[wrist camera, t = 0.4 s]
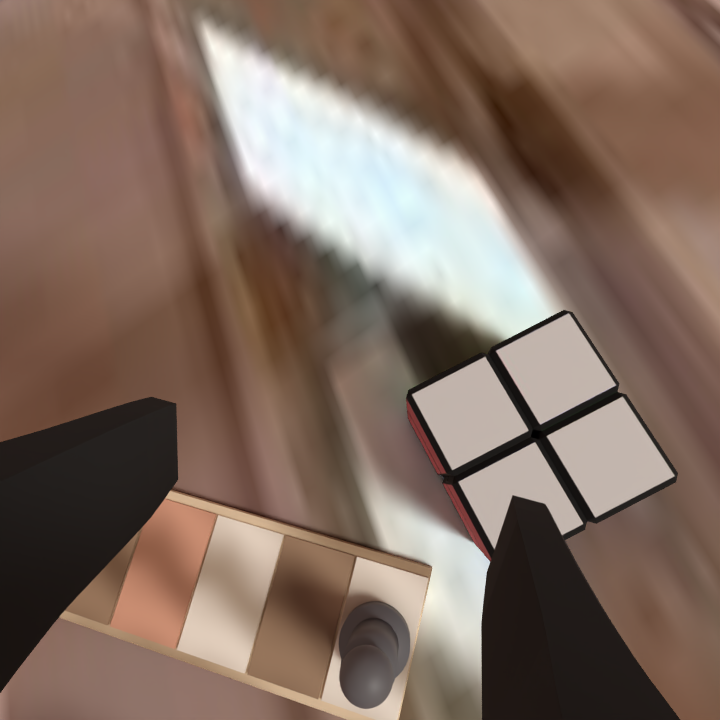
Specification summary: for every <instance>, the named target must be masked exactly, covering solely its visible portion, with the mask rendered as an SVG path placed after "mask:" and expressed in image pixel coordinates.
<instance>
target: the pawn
mask: <svg viewBox="0 0 720 720" xmlns="http://www.w3.org/2000/svg"><path fill="white" fill-rule="evenodd" d="M339 652H340V656H341V667H340V672H339V681H340V687H341V690H342V692H343V694H344V696H345V697H346V698H347V700H348V701H349V702H350V703H351V704H353V705H354V706H356V707H359V708H362V709H370V708H374V707H377V706H379V705H380V704H382V703H383V702H384V701H385V700H386V698H387V697H388V695H389V694H390V692H391V689H392V686H393V683H394V680H395V678H396V677H397V676H398V675H399V674H400V673H401V672H402V671H403V669H404V668H405V666H406V664H407V662H408V658H409V654H410V632H409V628H408V625H407V623H406V621H405V619H404V617H403V616H402V615H401V614H400V612H399V611H398V610H397V609H395V608H394V607H393V606H391V605H389V604H387V603H384V602H380V601H370V602H365V603H363V604H361V605H359V606H357V607H356V608H354V609H353V610H352V611H351V612H350V614H349V615H348V616H347V618H346V620H345V622H344V624H343V626H342V628H341V631H340V635H339Z"/></svg>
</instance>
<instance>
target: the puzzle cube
mask: <svg viewBox="0 0 720 720" xmlns="http://www.w3.org/2000/svg"><path fill="white" fill-rule="evenodd" d="M618 387H619V382H618V381H617V379H616V378H615V376H614V375H613V373H612V372H611V370H610V369H609V367H608V366H607V364H606V363H605V361H604V360H603V358H602V356H601V355H600V353H599V352H598V350H597V349H596V347H595V346H594V344H593V343H592V341H591V340H590V338H589V337H588V335H587V334H586V332H585V331H584V329H583V328H582V326H581V325H580V323H579V322H578V320H577V318H576V317H575V315H574V314H573V312H570V311H566V310H563V311H561V312H559V313H557V314H555V315H553V316H551V317H549V318H547V319H545V320H544V321H542V322H540V323H538V324H536V325H534V326H532V327H530V328H528V329H526V330H524V331H522V332H520V333H518V334H516V335H514V336H512V337H511V338H509V339H507V340H505V341H503V342H501V343H499V344H497V345H495V346H493V347H492V348H491V349H490V351H489V353H488V354H484V353H480V354H478V355H476V356H474V357H472V358H470V359H468V360H466V361H464V362H462V363H460V364H458V365H456V366H454V367H452V368H451V369H449V370H447V371H445V372H443V373H441V374H439V375H437V376H435V377H433V378H431V379H429V380H427V381H425V382H423V383H421V384H419V385H418V386H416V387H414V388H412V389H410V390H409V391H408V394H407V397H406V402H407V413H408V419H409V421H410V423H411V425H412V427H413V429H414V430H415V432H416V434H417V436H418V438H419V440H420V442H421V444H422V445H423V447H424V449H425V451H426V453H427V455H428V457H429V459H430V461H431V462H432V464H433V466H434V468H435V470H436V472H437V474H438V475H441V476H444V480H443V485H444V487H445V489H446V491H447V493H448V494H449V496H450V498H451V500H452V502H453V504H454V506H455V508H456V510H457V511H458V513H459V515H460V517H461V519H462V521H463V523H464V525H465V527H466V528H467V530H468V532H469V534H470V536H471V538H472V540H473V542H474V543H475V545H476V546H477V547H478V548H479V549H480V550H481V551H482V552H483V553H484V555H485V556H486V557H487V558H488V560H489V561H490V562H491V559H492V556H493V553H494V550H495V547H496V544H497V541H498V538H499V534H500V531H501V528H502V525H503V522H504V519H505V516H506V513H507V510H508V507H509V504H510V501H511V498H512V495H514V496H518V497H522V498H525V499H529V500H533V501H537V502H540V503H544V504H546V506H547V507H548V509H549V511H550V513H551V515H552V517H553V519H554V520H555V522H556V524H557V526H558V528H559V530H560V532H561V534H562V536H563V538H564V540H566V539H568V538H570V537H572V536H574V535H575V534H577V533H579V532H581V531H583V530H585V527H586V523H587V521H588V522H592V523H596V524H597V523H598V522H600V521H602V520H604V519H606V518H608V517H610V516H612V515H614V514H616V513H618V512H620V511H621V510H623V509H625V508H627V507H629V506H631V505H633V504H635V503H637V502H639V501H641V500H643V499H645V498H646V497H648V496H650V495H652V494H654V493H656V492H658V491H660V490H662V489H664V488H666V487H668V486H669V485H671V484H673V483H675V482H676V480H677V475H678V473H677V471H676V470H675V468H674V467H673V465H672V463H671V462H670V460H669V459H668V457H667V456H666V454H665V453H664V451H663V450H662V448H661V447H660V445H659V444H658V442H657V441H656V439H655V438H654V436H653V435H652V433H651V432H650V430H649V428H648V427H647V425H646V424H645V422H644V421H643V419H642V418H641V416H640V415H639V413H638V412H637V410H636V409H635V407H634V406H633V404H632V403H631V401H630V400H629V398H628V397H627V395H626V394H622V393H619V392H617V391H618Z"/></svg>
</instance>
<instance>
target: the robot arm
mask: <svg viewBox="0 0 720 720" xmlns="http://www.w3.org/2000/svg"><path fill="white" fill-rule="evenodd" d="M177 480H178V457H177V416H176V403H172V402H168V401H165V400H161V399H157V398H154V397H149V398H145V399H141V400H137V401H133V402H130V403H126V404H123V405H120V406H116V407H113V408H110V409H107V410H104V411H101V412H98V413H95V414H91V415H88V416H85V417H82V418H79V419H76V420H73V421H70V422H67V423H63V424H60V425H57V426H54V427H51V428H48V429H45V430H41V431H38V432H34V433H31V434H27V435H24V436H20V437H17V438H14V439H10V440H7V441H3V442H0V693H1V691H2V690H3V689H4V687H5V686H6V684H7V683H8V682H9V680H10V679H11V678H12V676H13V675H14V674H15V672H16V671H17V670H18V668H19V667H20V666H21V664H22V663H23V662H24V661H25V659H26V658H27V657H28V656H29V654H30V653H31V652H32V650H33V649H34V648H35V647H36V645H37V644H38V643H39V641H40V640H41V639H42V638H43V636H44V635H45V634H46V632H47V631H48V630H49V629H50V627H51V626H52V625H53V624H54V622H55V621H56V620H57V619H58V618H59V617H60V615H61V614H62V613H63V612H64V611H65V610H66V609H67V607H68V606H69V605H70V604H71V603H72V602H73V601H74V600H75V599H76V597H77V596H78V595H79V594H80V593H81V592H82V591H83V590H84V589H85V588H86V587H87V586H88V585H89V584H90V583H91V582H92V580H93V579H94V578H95V577H96V576H97V575H98V574H99V573H100V572H101V571H102V570H103V569H104V568H105V567H106V566H107V565H108V563H109V562H110V561H111V560H112V559H113V558H114V557H115V556H116V555H117V554H118V553H119V552H120V551H121V550H122V549H123V548H124V546H125V545H126V544H127V543H128V542H129V541H130V540H131V539H132V538H133V537H134V536H135V535H136V533H137V532H138V531H139V530H140V529H141V528H142V527H143V526H144V525H145V524H146V523H147V521H148V520H149V519H150V518H151V517H152V515H153V514H154V513H155V511H156V510H157V509H158V507H159V506H160V505H161V503H162V502H163V501H164V499H165V498H166V496H167V495H168V493H169V492H170V490H171V489H172V488H173V486H174V485H175V483H176V482H177ZM482 720H680V719H679V717H678V716H677V715H676V713H675V712H674V711H673V709H672V708H671V707H670V705H669V704H668V703H667V701H666V700H665V699H664V697H663V696H662V695H661V693H660V692H659V691H658V689H657V688H656V687H655V686H654V684H653V683H652V682H651V680H650V679H649V677H648V676H647V675H646V673H645V672H644V670H643V669H642V668H641V666H640V665H639V663H638V662H637V660H636V659H635V657H634V656H633V655H632V653H631V651H630V650H629V648H628V647H627V645H626V644H625V642H624V641H623V639H622V638H621V636H620V635H619V633H618V632H617V630H616V628H615V627H614V625H613V624H612V622H611V620H610V619H609V617H608V616H607V614H606V612H605V611H604V609H603V608H602V606H601V604H600V602H599V601H598V599H597V597H596V596H595V594H594V592H593V590H592V589H591V587H590V585H589V584H588V582H587V580H586V579H585V577H584V575H583V573H582V571H581V570H580V568H579V566H578V564H577V562H576V561H575V559H574V557H573V555H572V553H571V551H570V549H569V548H568V546H567V544H566V542H565V540H564V538H563V536H562V534H561V532H560V530H559V528H558V526H557V524H556V522H555V520H554V519H553V517H552V515H551V513H550V511H549V509H548V507H547V506H546V504H544V503H540V502H537V501H533V500H529V499H525V498H522V497H518V496H514V495H512V498H511V501H510V504H509V507H508V510H507V513H506V516H505V519H504V522H503V525H502V528H501V531H500V534H499V538H498V541H497V544H496V547H495V550H494V553H493V556H492V559H491V562H490V565H489V568H488V571H487V576H486V585H485V594H484V604H483V614H482Z"/></svg>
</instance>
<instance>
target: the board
mask: <svg viewBox="0 0 720 720" xmlns="http://www.w3.org/2000/svg"><path fill="white" fill-rule="evenodd" d="M431 571H432V566H428V565H425V564H421V563H418V562H415V561H411V560H408V559H404V558H401V557H398V556H394V555H391V554H388V553H384V552H381V551H377V550H374V549H371V548H367V547H364V546H361V545H357V544H354V543H350V542H347V541H344V540H340V539H337V538H334V537H330V536H327V535H323V534H320V533H317V532H313V531H310V530H306V529H303V528H300V527H296V526H293V525H290V524H286V523H283V522H279V521H276V520H273V519H269V518H266V517H263V516H259V515H256V514H252V513H249V512H246V511H242V510H239V509H236V508H232V507H229V506H225V505H222V504H219V503H215V502H212V501H208V500H205V499H202V498H198V497H195V496H192V495H188V494H185V493H181V492H178V491H175V490H170V492H169V493H168V495H167V496H166V498H165V499H164V501H163V502H162V503H161V505H160V506H159V507H158V509H157V510H156V511H155V513H154V514H153V515H152V517H151V518H150V519H149V520H148V521H147V523H146V524H145V525H144V526H143V527H142V528H141V529H140V530H139V531H138V532H137V533H136V535H135V536H134V537H133V538H132V539H131V540H130V541H129V542H128V543H127V544H126V545H125V546H124V548H123V549H122V550H121V551H120V552H119V553H118V554H117V555H116V556H115V557H114V558H113V559H112V560H111V561H110V562H109V563H108V565H107V566H106V567H105V568H104V569H103V570H102V571H101V572H100V573H99V574H98V575H97V576H96V577H95V578H94V579H93V580H92V582H91V583H90V584H89V585H88V586H87V587H86V588H85V589H84V590H83V591H82V592H81V593H80V594H79V595H78V596H77V597H76V599H75V600H74V601H73V602H72V603H71V604H70V605H69V606H68V607H67V609H66V610H65V611H64V612H63V613H62V614H61V615H60V617H59V618H62V619H65V620H68V621H71V622H73V623H76V624H79V625H82V626H85V627H88V628H90V629H93V630H96V631H99V632H102V633H105V634H107V635H110V636H113V637H116V638H119V639H121V640H124V641H127V642H130V643H133V644H136V645H138V646H141V647H144V648H147V649H150V650H153V651H155V652H158V653H161V654H164V655H167V656H169V657H172V658H175V659H178V660H181V661H184V662H186V663H189V664H192V665H195V666H198V667H201V668H203V669H206V670H209V671H212V672H215V673H217V674H220V675H223V676H226V677H229V678H232V679H234V680H237V681H240V682H243V683H246V684H249V685H251V686H254V687H257V688H260V689H263V690H265V691H268V692H271V693H274V694H277V695H280V696H282V697H285V698H288V699H291V700H294V701H297V702H299V703H302V704H305V705H308V706H311V707H313V708H316V709H319V710H322V711H325V712H328V713H330V714H333V715H336V716H339V717H342V718H345V719H347V720H399V716H400V711H401V707H402V702H403V698H404V693H405V689H406V684H407V680H408V675H409V671H410V666H411V662H412V657H413V653H414V648H415V644H416V639H417V635H418V630H419V626H420V621H421V617H422V612H423V608H424V603H425V599H426V594H427V590H428V585H429V580H430V576H431ZM370 601H380V602H384V603H387V604H389V605H391V606H393V607H394V608H395V609H397V610H398V611H399V612H400V614H401V615H402V616H403V617H404V619H405V621H406V623H407V625H408V628H409V632H410V654H409V658H408V662H407V664H406V666H405V668H404V669H403V671H402V672H401V673H400V674H399V675H398V676H397V677H396V678H395V680H394V683H393V686H392V689H391V692H390V694H389V695H388V697H387V698H386V700H385V701H384V702H383V703H382V704H380V705H379V706H377V707H374V708H370V709H362V708H359V707H356V706H354V705H353V704H351V703H350V702H349V701H348V700H347V698H346V697H345V696H344V694H343V692H342V690H341V687H340V681H339V672H340V667H341V656H340V652H339V635H340V631H341V628H342V626H343V624H344V622H345V620H346V618H347V616H348V615H349V614H350V612H351V611H352V610H353V609H354V608H356V607H357V606H359V605H361V604H363V603H365V602H370Z"/></svg>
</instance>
